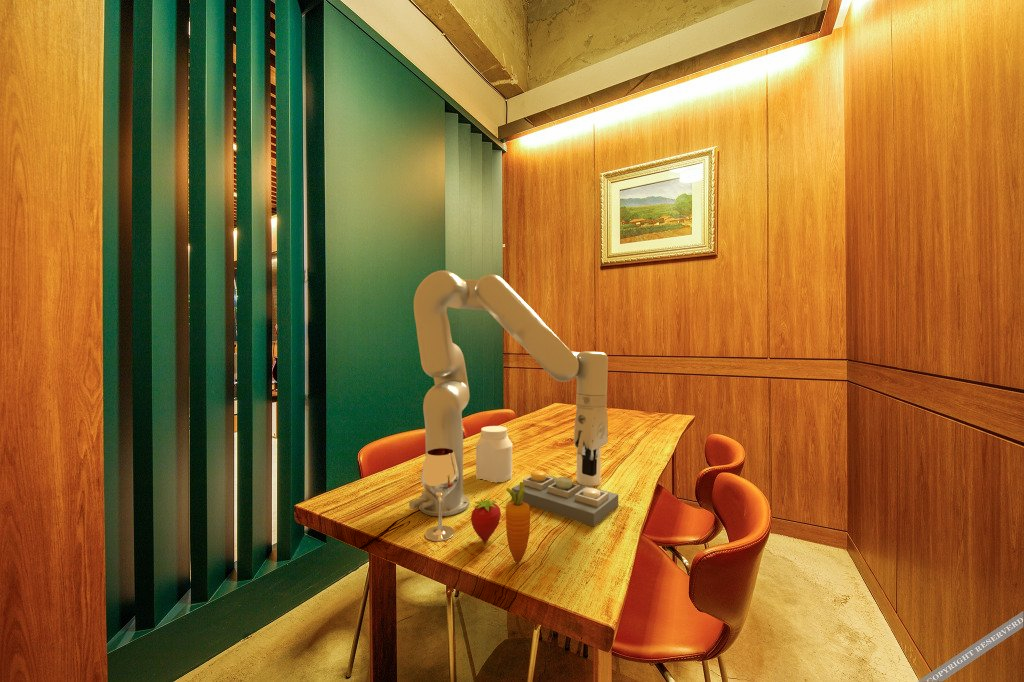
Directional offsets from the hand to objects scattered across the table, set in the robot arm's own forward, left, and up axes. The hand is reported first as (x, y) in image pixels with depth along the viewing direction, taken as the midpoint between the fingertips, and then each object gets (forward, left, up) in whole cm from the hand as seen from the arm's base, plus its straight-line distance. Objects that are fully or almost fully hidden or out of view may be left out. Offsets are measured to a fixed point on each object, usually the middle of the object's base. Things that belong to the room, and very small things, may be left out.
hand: (589, 474), depth 93 cm
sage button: (0, +7, -5) cm, 9 cm away
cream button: (0, -1, -6) cm, 6 cm away
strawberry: (-27, +10, -9) cm, 30 cm away
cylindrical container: (+18, +9, -9) cm, 23 cm away
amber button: (0, +15, -5) cm, 16 cm away
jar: (+3, +34, -10) cm, 36 cm away
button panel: (0, +7, -9) cm, 12 cm away
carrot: (-29, 0, -9) cm, 30 cm away
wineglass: (-31, +20, -9) cm, 38 cm away
